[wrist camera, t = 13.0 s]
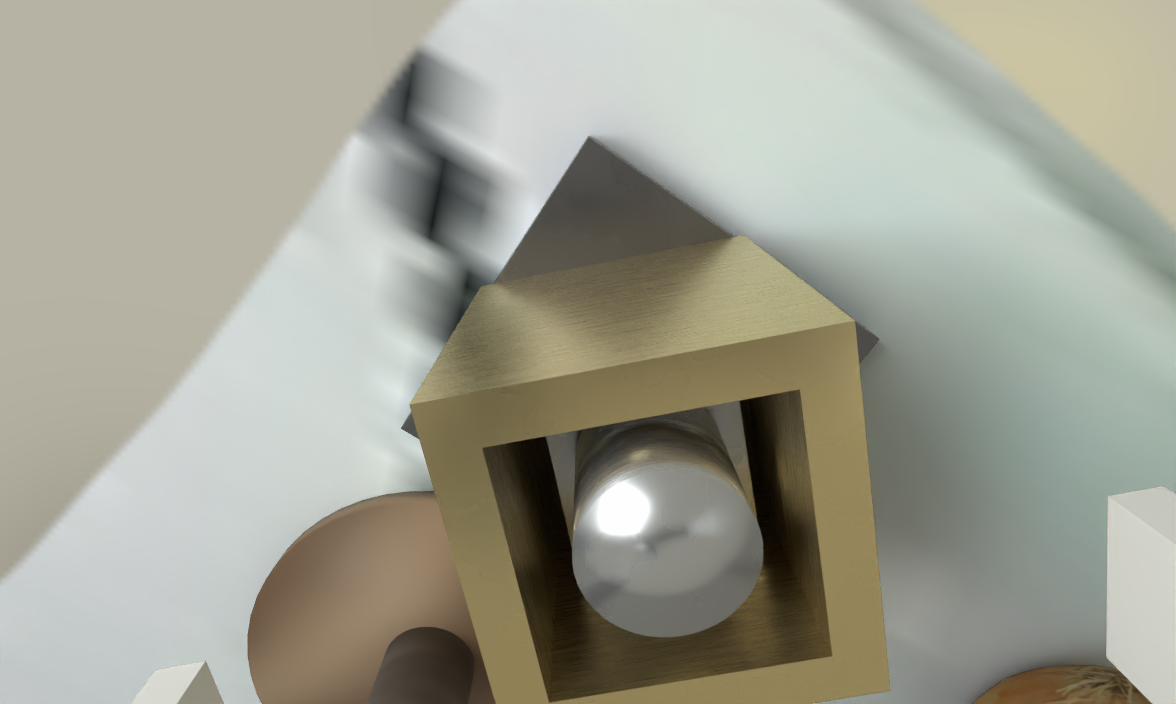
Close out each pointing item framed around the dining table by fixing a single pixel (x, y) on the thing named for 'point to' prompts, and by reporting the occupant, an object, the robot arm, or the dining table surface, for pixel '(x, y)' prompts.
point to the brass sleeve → (639, 390)
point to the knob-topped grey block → (646, 431)
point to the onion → (1065, 687)
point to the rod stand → (368, 613)
